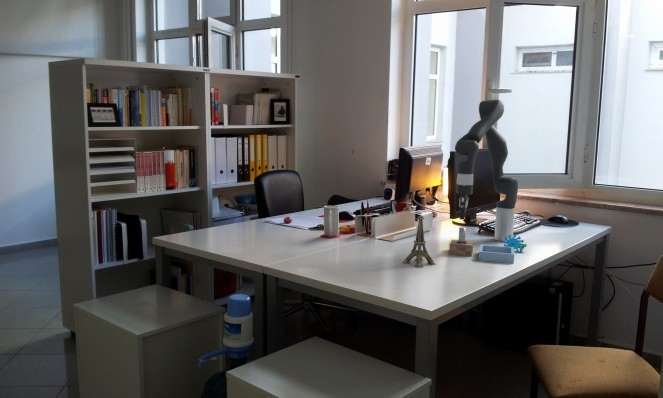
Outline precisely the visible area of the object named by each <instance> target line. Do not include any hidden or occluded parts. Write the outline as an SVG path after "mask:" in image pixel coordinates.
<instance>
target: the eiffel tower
mask: <svg viewBox="0 0 663 398" xmlns="http://www.w3.org/2000/svg"><path fill="white" fill-rule="evenodd" d="M417 220H418V224H417V228H416V235H415V240H413V243H414V245H413V247H412V250H410V253H409V254H408V255H407V256H406V258H405V259H404V260H403V261H402V262H401V263H402V264H405V265H407V264H412V263H411V260H412V259H413V258H414V257H416V258H415V259H414V261H416V262H415V265H414V268H418V269H420V268H424V265H423V263H422V262H424V260H423V258H425V260H426V262H427V263H426V264H427V265H428V266H436V265H437V263H435V262H434V260H433V258H432V257H431V255H430V254H429V251H428V250H427V248H426V244H427V241H425V235H424V233H425V232H424V221H423V220H425V218H424V216H422V214H420V215H418V216H417ZM422 257H423V258H422Z"/></svg>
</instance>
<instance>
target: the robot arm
mask: <svg viewBox="0 0 663 398" xmlns="http://www.w3.org/2000/svg"><path fill="white" fill-rule="evenodd" d="M504 112H505V105H504V102H503V101H502V100H500V99H489V100H488V99H487V100H482V101H480V102H479V104H478V115H479V117H480V120H477V122H475V123H474V124H473V125H472V126H471V127H470V129H469V130H468V132H467V133H465V134H464V135H463V136H461V137H460V138H459V139H458V140H457V142H456V143H455V145H454V151H455V153H456V154H457V155H459V156H467V158H466V159H465V160H459V161H458V164H457V176H456V184H455V185H456V187H455V188H456V189H455V193H456V194H459V195H460V197H459V201H458V203H459V204H458V206H459V209H458V210H459V220H465V218H466V216H467V208H468V205H469V199H470V198H469V195H472V194H473V192H474V168H475V167H474V166H475V163H476V159H477V156H478V154H479V150H480V148H479V147H480V146H479V143H480V142H481V141H482V140H483V139H484V136H485V139H486V144H487V145H486V146H487V150H488V154H489V158H490V163H491V170H492V180H493V186H494V190H495V192H496V193H497V194H501V195H505V197H504V199H502V200H501V199H500V200H498V201H497V202H496V207H495V225H494V240H495V241H499V242H503V240H505V239H504V238H505V237H507V239H508V240H509V237H508V235H511V237H510V238H513V235H514V228H515V227H514V226H515V211H516V210H515V209H516V204H517V200H518V199H517V198H518V192H519V182H518V179H517V178H516V177H513V176H505V175H504V169H503V168H504V164H505V162H506V160H507V158H508V155H509V151H508V144H507V141H506V138H505V137H504V136H503V135H502V134H501V133H500V132H499V130H498V129H497V128H496V127H495V126H494V125H495V124H496V123H497V122H498V121H499V120H500V119H502V117H503V115H504ZM505 241H506V242H507V240H505Z"/></svg>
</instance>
